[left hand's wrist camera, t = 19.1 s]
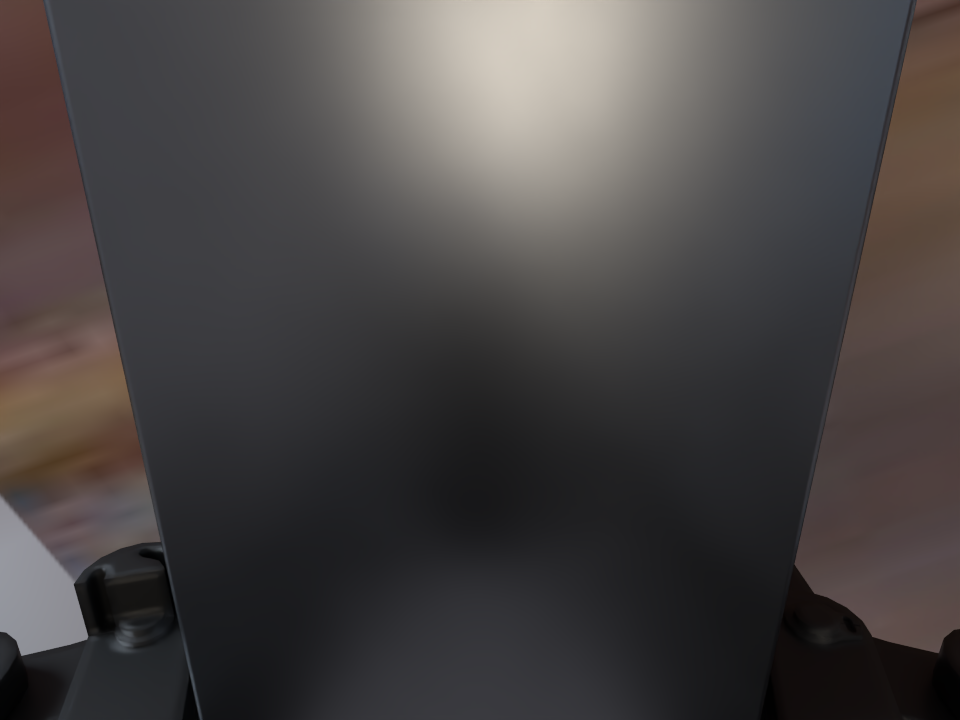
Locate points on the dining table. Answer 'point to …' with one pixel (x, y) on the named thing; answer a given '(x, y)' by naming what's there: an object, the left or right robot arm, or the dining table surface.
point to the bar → (479, 333)
